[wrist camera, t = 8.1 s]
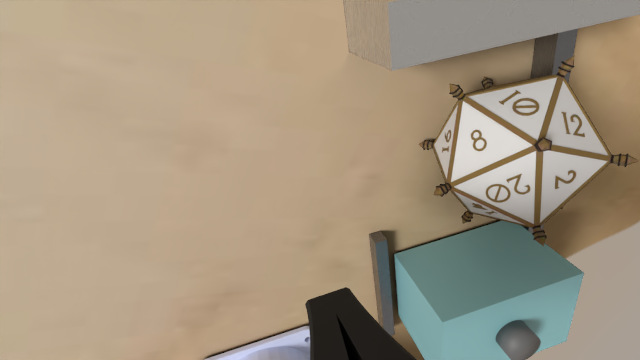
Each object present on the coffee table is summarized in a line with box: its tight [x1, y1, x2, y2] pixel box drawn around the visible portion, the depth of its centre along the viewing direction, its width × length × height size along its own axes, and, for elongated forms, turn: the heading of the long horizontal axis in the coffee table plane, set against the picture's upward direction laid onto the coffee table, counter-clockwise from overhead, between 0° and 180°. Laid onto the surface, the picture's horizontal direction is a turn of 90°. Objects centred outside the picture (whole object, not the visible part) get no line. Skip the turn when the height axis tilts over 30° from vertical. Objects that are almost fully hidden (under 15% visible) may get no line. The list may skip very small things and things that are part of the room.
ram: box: [394, 221, 584, 360], centre depth 24 cm, size 6×9×7 cm, turn 99°
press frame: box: [343, 0, 640, 336], centre depth 22 cm, size 23×12×5 cm, turn 9°
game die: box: [419, 56, 638, 247], centre depth 19 cm, size 9×8×10 cm
